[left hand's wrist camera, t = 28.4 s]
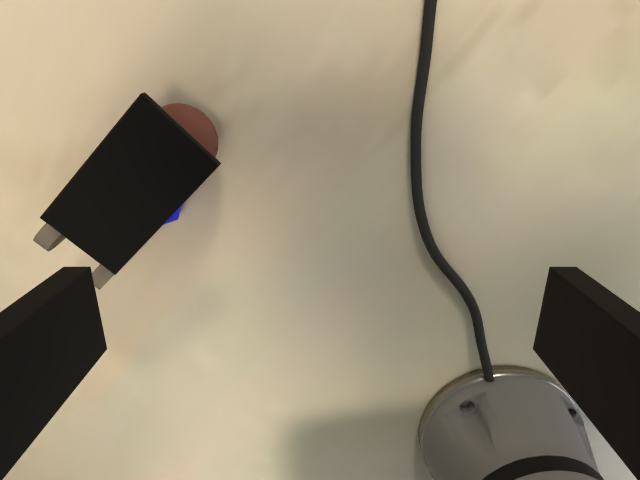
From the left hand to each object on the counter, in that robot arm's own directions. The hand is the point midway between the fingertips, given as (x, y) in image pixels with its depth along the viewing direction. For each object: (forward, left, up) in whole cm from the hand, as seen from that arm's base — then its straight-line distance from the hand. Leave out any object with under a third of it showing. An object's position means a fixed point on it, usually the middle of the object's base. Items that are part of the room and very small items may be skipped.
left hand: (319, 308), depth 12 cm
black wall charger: (+3, -13, -23) cm, 26 cm away
